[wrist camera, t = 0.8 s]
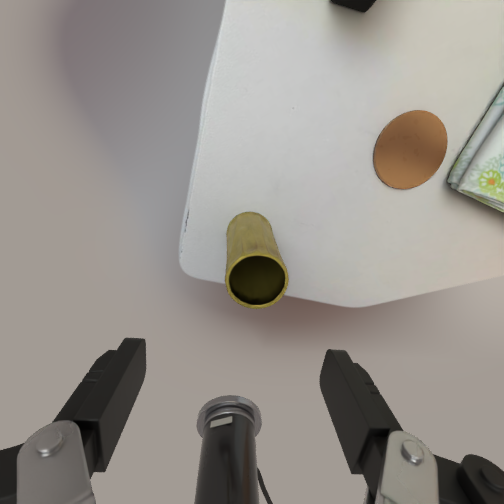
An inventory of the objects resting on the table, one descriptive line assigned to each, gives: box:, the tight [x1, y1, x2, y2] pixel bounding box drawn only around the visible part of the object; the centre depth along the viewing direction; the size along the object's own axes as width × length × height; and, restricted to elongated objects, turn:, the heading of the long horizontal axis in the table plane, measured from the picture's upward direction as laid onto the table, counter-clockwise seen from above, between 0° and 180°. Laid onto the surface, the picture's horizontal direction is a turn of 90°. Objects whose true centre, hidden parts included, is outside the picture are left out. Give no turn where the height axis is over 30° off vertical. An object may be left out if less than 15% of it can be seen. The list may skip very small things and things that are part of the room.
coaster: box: [373, 110, 447, 189], centre depth 31 cm, size 9×9×1 cm
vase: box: [225, 212, 289, 309], centre depth 27 cm, size 6×6×14 cm
